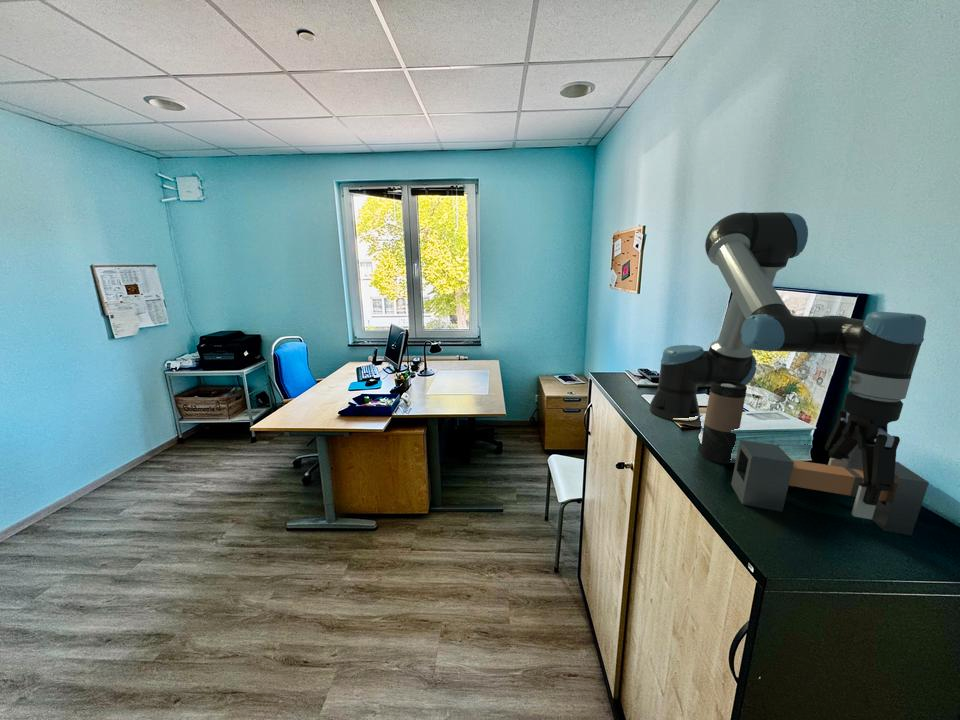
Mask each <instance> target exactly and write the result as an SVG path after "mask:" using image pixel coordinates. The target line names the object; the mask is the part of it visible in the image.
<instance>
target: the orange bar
mask: <svg viewBox="0 0 960 720" xmlns="http://www.w3.org/2000/svg"><path fill="white" fill-rule="evenodd" d="M791 460H792V461H793V462H794V464H793V469H792V473H791V477H790V482H789V486H790V487H797V488H802V489H808V490H815V491H821V492H825V493H833V494H837V495H838V494H839V495H844V496H849V497H855V498H856V495H857V492H858V488H859V483H864V476H863V470H858V469H852V468H847V467H838V466H831V465H828V464H824V463H819V462H818V463H816V462H810V461H804V460H802V461H801V460H796V459H791ZM871 481H872V480H871ZM789 486H788V487H789ZM888 495H889V491H881V492H880V496H879V499H878V500H879V501H885V502H886V501H887V498H888Z"/></svg>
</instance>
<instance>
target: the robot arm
mask: <svg viewBox="0 0 960 720" xmlns="http://www.w3.org/2000/svg"><path fill="white" fill-rule="evenodd" d="M808 238H809V227H808V224H807V221H806V220H805V218H804V217H803V216H802V215H800V214H799V213H794V212H792V213H791V212H784V211H783V212H782V211H779V212H778V211H777V212H775V211H774V212H772V211H771V212H769V211H765V212H735V213H732V214H729V215H727V216H724V217H723V218H721V219H720V220H718V221H717V222H716V223H715V224H714V225H713V226H712V227H711V229H710V230H709V231H708V233H707V236H706V239H705V245H704V248H705V254H706V256H707V257H708V259H709V262H710V263H712V264H713V265H715V266H717V267H718V269H719V270H720V273H721V275H722V276H723V278H724V281H725V282H726V284H727V287H729V289H730V291H731V293H732V294H731V299H730V301H729V304H728V307H727V310H726V313H725V318H724V320H723V323H722V326H721V330H720V333H719V336H718V338H717V339H716V340H714V341H712V342H711V343H710V346H709V349H708V350H704V348H703V347H702V346H699V345H694V344H693V345H689V344H679V345H671V346H668V347H666V348H665V349H664V350H663V352H662V356H661V359H660V369H659V370H660V371H659V379H658V384H657V390H656V391H655V394H654V396H653V397H652V400H651V401H650V404H649V412H650V413H652V414H653V415H654V416H657V417H659V418H662V419H665V420H670V421H673V420H672V419H673V418H689V417H695V416H698V415H699V416H700V408H699V406H700V405H699V403H698V398H697V392H698V388H699V387H698V386H701V387H711V382H713V383H714V382H715V381H716V380H728V381H734V382H738V383H741V384H744V385H746V386H747V385H748V384H749V383H750V382H751V381H752V380H753V379H754V377H755V375H756V373H757V366H756V365H758V364H757V358H756V357H755V356H754V355H753V354H754V353H753V350H754V351H755V350H756V351H763V352H786V353H787V352H789V353H791V352H792V353H809V354H810V353H811V354H813V353H814V354H816V353H817V354H834V355H841V356H846V357H850V358H853V359H855V360H854V365H852V373H851V375H850V376H849V377H848V380H849V384H848V387H847V388H848V390H850V391H847V392H846V393H845V397H844V401H843V405H842V410H839V411H838V415H837V419H836V421H835V424H834V425H833V428H832V430H831V433H830V434H829V436H828V438H827V441H826V443H825V445H824V450H825V451H828V456H829V461H828V463H827V465H831V466H838V467H847V463H848V461H846V460H842V458H843V459H850V458H849V456H848V454H849V453H850V452H851V451H852V450H853V449H854V448H855V446H856V445H857V444H858V448H859V449H861V451H862V463H863V476H864V483H859V488H858V492H857V495H856V497H855V500H854V503H853V507H852V510H851V515H852V516H853V517H854V518H860V519H861V518H862V519H866V520H872V517H873V514H874V511H875V507H876V505H877V502H878V499H879V496H880V492H881V491H889V492H893V489H894V476H895V463H896V462H897V461H896V460H897V449H898V446H899V445H900V442H901V438H900V437H899V436H897V435H891V434H889V433H888V424H889V423H890V424H891V422H892V423H893V422H897V421H899V419H900V417H901V413H902V410H903V407H904V403H903V402H902V400H905V399H906V397H907V393H908V391H909V387H910V383H911V379H912V375H913V372H914V368H915V365H916V362H917V360H918V359H917V358H918V355H919V352H920V349H921V345H922V343H923V342H924V340H925V336H924V335H925V331H926V326H927V319H926V318H925V317H924V316H923V315H920V314H917V313H916V314H915V313H905V312H893V311H872V312H869V313H867V315H866V317H865V319H858V318H853V317H847V316H845V315H824V316H823V315H822V316H809V315H808V316H805V315H804V316H802V315H793V313H792V311H790V309H789V308H788V306H786V304H785V302H784V301H783V299H782V298H781V296H780V295H779V293H778V290H776V288H775V287H774V285H773V283H774V281H775V278H776V276H777V272H779V271H780V270H782V269H784V268H786V266H787V264H788V263H789V262H788V261H789V259H793V258H796V257H797V256H799V255H800V254H801V253H803V251H804V249H805V247H806V245H807V242H808ZM871 445H873V446H871ZM874 445H875V446H874ZM871 480H872V481H871ZM872 521H873V520H872Z"/></svg>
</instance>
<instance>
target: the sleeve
mask: <svg viewBox="0 0 960 720" xmlns="http://www.w3.org/2000/svg"><path fill="white" fill-rule="evenodd" d="M792 460H793V459H791V458H790V457H789V456H788V454H787V453H786V452H785V451H784V450H783V449H782V448H781V447H780V446H779V445H778V444H772V443H766V442H765V443H764V442H757V441H751V440H743V439H740V440H739V442H738V447H737V453H736V458H735V463H734V468H733V474H732V477H731V483H730V486H732V489H733V491H734V492H735V494H736V495H737V498H738V500H739V501H740V503H741V504H742V505H743V506H749V507H750V506H751V507H756V508H759V509H766V510H771V511H775V512H781V513H782V512H783V511H784V507H785V502H786V498H787V493H788V489H789V482H790V477H791V473H792V469H793V464H794V462H793V461H792Z"/></svg>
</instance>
